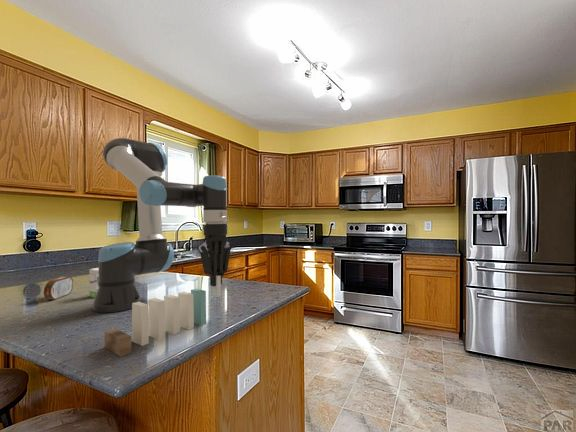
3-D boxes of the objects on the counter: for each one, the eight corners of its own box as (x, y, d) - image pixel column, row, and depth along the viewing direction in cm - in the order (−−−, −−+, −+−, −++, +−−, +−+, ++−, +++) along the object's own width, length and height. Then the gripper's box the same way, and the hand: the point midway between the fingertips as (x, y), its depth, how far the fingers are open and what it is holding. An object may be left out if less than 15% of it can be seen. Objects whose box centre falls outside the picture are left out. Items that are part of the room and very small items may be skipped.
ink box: (95, 298, 124) (94, 269, 124) (89, 296, 126) (88, 269, 127) (115, 293, 131) (115, 266, 131) (109, 292, 134) (109, 266, 134)
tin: (67, 293, 134) (67, 274, 134) (74, 292, 134) (74, 274, 134) (42, 302, 119) (42, 281, 119) (51, 302, 119) (51, 281, 119)
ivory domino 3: (174, 334, 83) (173, 298, 83) (164, 330, 86) (164, 295, 86) (180, 332, 84) (179, 297, 84) (170, 328, 87) (169, 294, 87)
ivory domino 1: (141, 345, 76) (141, 306, 76) (132, 341, 79) (132, 303, 79) (148, 343, 77) (148, 304, 77) (139, 339, 80) (138, 301, 80)
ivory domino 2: (158, 340, 79) (158, 302, 79) (149, 335, 82) (148, 299, 82) (165, 337, 81) (164, 300, 81) (155, 333, 84) (155, 298, 84)
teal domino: (201, 325, 90) (200, 292, 90) (191, 322, 93) (190, 289, 93) (206, 323, 91) (205, 290, 91) (196, 320, 94) (195, 288, 94)
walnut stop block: (104, 347, 75) (104, 331, 75) (114, 343, 77) (114, 328, 77) (120, 356, 70) (120, 339, 70) (131, 352, 72) (131, 336, 72)
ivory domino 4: (188, 329, 86) (187, 295, 86) (178, 326, 89) (178, 292, 89) (193, 327, 88) (193, 293, 88) (183, 324, 91) (183, 291, 91)
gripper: (206, 223, 90) (207, 301, 90) (238, 222, 101) (239, 293, 100) (191, 223, 95) (192, 298, 95) (223, 223, 105) (224, 290, 105)
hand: (216, 295), depth 98 cm, fingers closed
